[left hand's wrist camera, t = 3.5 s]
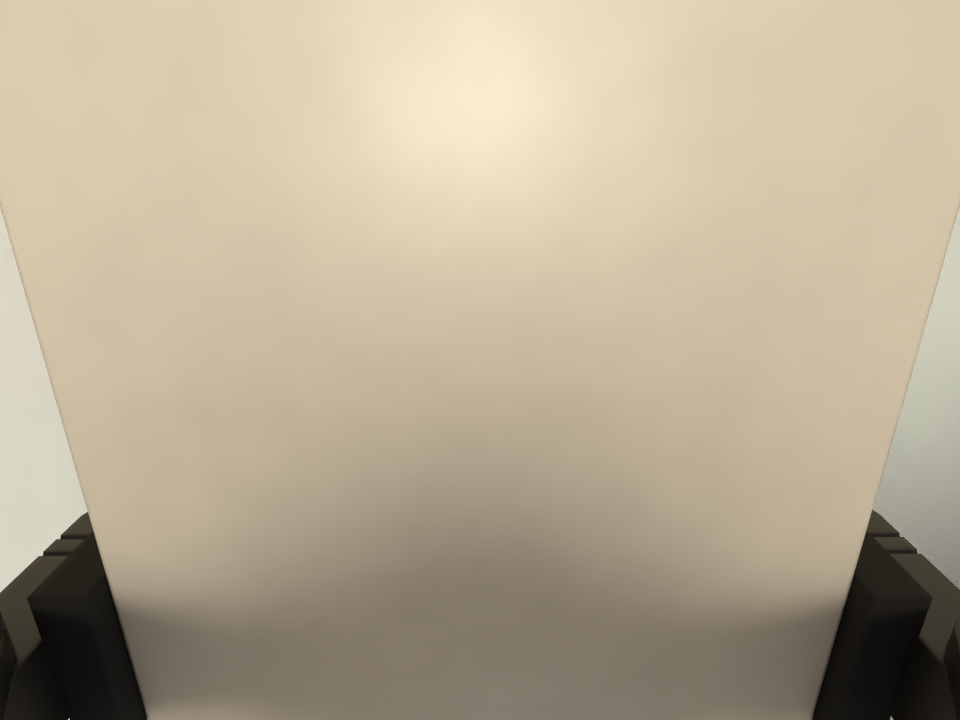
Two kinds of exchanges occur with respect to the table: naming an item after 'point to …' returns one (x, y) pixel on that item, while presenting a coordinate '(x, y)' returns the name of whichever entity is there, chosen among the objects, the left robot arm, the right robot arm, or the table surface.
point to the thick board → (479, 336)
